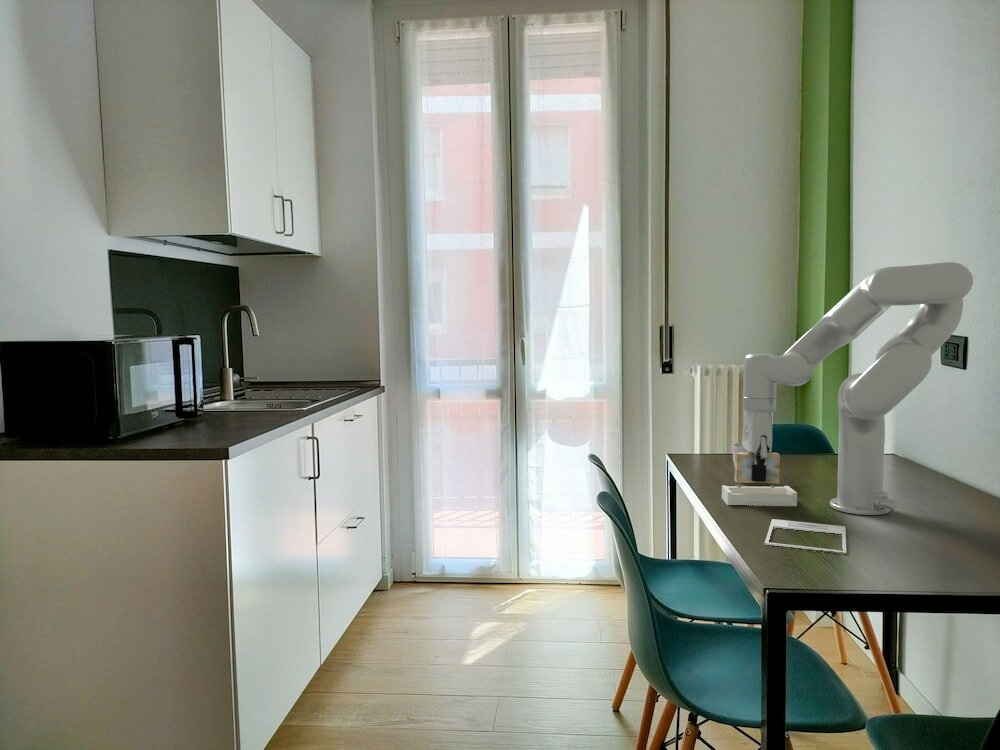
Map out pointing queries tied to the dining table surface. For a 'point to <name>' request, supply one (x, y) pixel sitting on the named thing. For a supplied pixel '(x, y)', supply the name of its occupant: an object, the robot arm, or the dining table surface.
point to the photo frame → (806, 527)
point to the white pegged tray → (759, 496)
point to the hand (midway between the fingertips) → (756, 478)
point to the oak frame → (747, 460)
